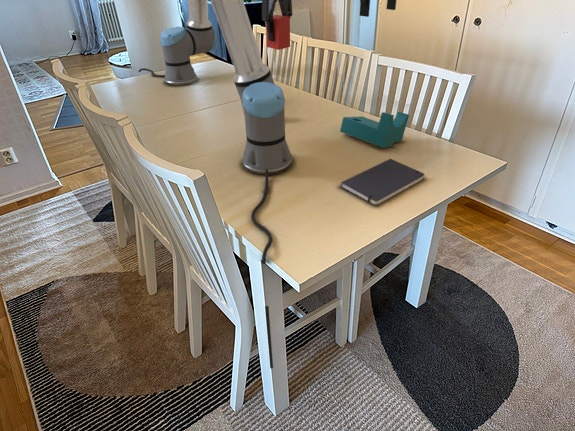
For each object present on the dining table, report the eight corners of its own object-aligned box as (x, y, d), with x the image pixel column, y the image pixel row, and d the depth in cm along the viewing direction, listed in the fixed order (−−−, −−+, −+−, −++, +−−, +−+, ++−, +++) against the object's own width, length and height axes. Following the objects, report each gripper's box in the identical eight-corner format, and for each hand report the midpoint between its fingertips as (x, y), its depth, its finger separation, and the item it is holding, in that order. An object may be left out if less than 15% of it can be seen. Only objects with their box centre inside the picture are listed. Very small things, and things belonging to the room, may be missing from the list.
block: (290, 46, 157) (289, 16, 151) (278, 49, 154) (277, 19, 147) (278, 44, 161) (277, 14, 155) (266, 47, 158) (265, 17, 151)
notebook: (389, 163, 124) (340, 187, 113) (390, 158, 123) (341, 182, 112) (424, 178, 116) (375, 206, 105) (425, 174, 115) (376, 201, 104)
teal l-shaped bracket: (400, 145, 137) (409, 114, 132) (382, 147, 129) (391, 115, 125) (358, 130, 148) (365, 101, 143) (340, 131, 140) (346, 101, 136)
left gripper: (287, -34, 150) (288, 33, 163) (248, -29, 139) (252, 42, 153) (302, -33, 146) (302, 36, 159) (263, -28, 135) (266, 45, 148)
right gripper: (399, -77, 116) (390, 5, 128) (345, -76, 101) (341, 17, 114) (423, -78, 111) (411, 8, 124) (370, -76, 97) (363, 20, 109)
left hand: (278, 38), depth 156 cm, fingers closed on block, 6 cm apart
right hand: (377, 12), depth 119 cm, fingers open, 13 cm apart
